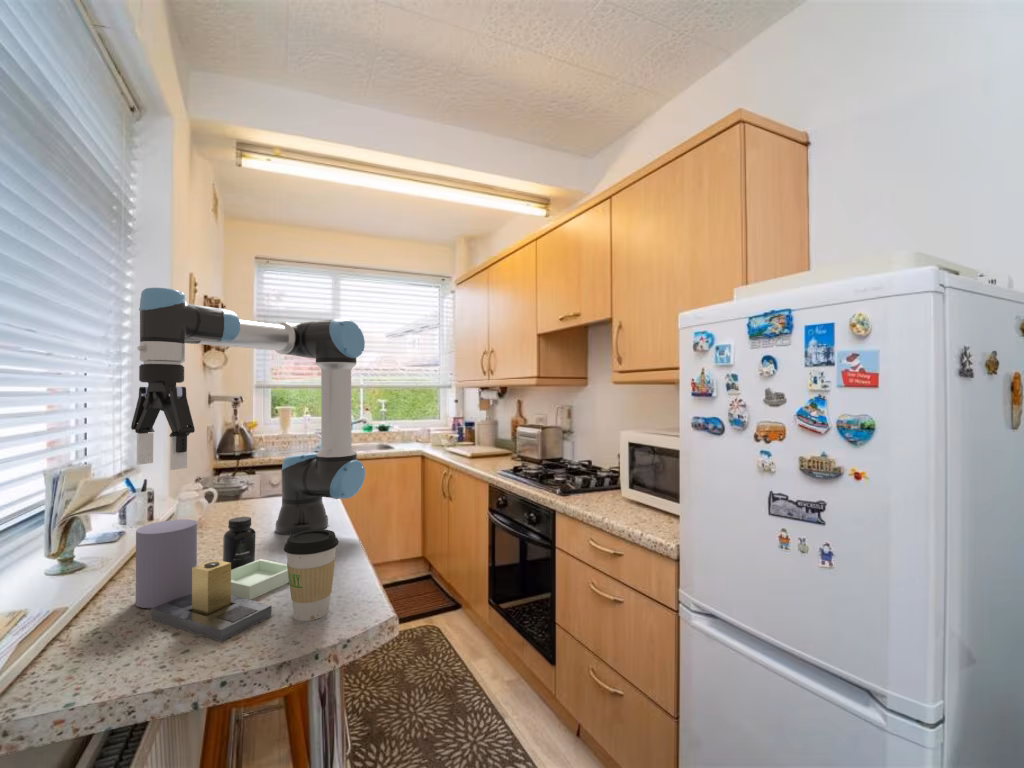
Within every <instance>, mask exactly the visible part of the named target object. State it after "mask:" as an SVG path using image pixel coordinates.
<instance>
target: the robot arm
mask: <svg viewBox="0 0 1024 768" xmlns="http://www.w3.org/2000/svg"><path fill="white" fill-rule="evenodd" d="M139 301H140V302H139V308H138V311H139V345H138V346H137V351H139V361H140V362H142V363H141V364H140V365H139V367H138V368H139V369H138V373H139V374H138V381H139V382H141V383H147V384H148V385H147V386H139V388H138V398H137V402H136V406H135V411H134V412H133V413H134V414H133V418H132V421H131V426H130V428H131V430H132V431H133V430H134V432H135V434H136V465H145V464H147V465H148V464H153V463H154V433H155V430H154V428H153V427H154V425H155V424H156V423H155V422H156V421H157V418H158V416H159V414H160V411H162V412H163V413H164V416H165V418H166V421H167V423H168V425H169V428H170V430H171V432H170V434H169V438H170V439H169V441H170V442H169V443H170V444H169V445H170V446H169V447H170V448H169V449H170V450H169V451H170V452H169V470H171V471H173V470H180V469H187V468H188V437H189V436H190V434H193V433H195V425H194V420H193V418H192V414H191V410H190V405H189V403H188V398H187V388H186V386H177V384H181V383H184V382H185V366H184V365H183V364H182V363H185V360H186V358H185V356H186V355H185V353H186V351H185V350H186V349H185V348H186V344H189V345H191V344H194V345H206V346H208V345H209V346H217V347H218V346H219V347H231V348H242V349H255V350H267V351H275V352H276V353H277V354H279V355H287V356H295V357H302V358H307V359H315V364H316V365H317V367H318V368H319V369H320V372H321V373H320V374H321V376H320V378H321V379H320V380H321V381H320V384H321V385H320V386H321V387H320V390H321V391H320V394H321V395H320V396H321V397H320V398H321V401H320V402H321V403H320V404H321V405H320V406H321V407H320V408H321V409H320V410H321V415H320V416H321V418H320V419H321V425H320V426H321V427H320V428H321V429H320V431H321V434H320V435H321V446H320V447H321V448H320V449H319V450H318V452H309V453H302V454H296V455H290V456H289V455H288V456H286V457H284V458H283V460H282V464H281V465H282V467H281V472H280V473H281V507H280V510H279V513H278V517H277V520H276V522H275V532H276V533H278V534H281V535H293V534H295V533H299V532H303V531H308V530H324V529H325V528H327V527H328V526H329V516H328V515H327V512H326V509H325V505H324V503H323V498H328V499H329V498H331V499H333V500H341V499H342V500H347V499H350V498H352V497H354V496H355V495H356V494H358V492H359V491H360V489H362V486H363V485H364V481H365V477H366V470H365V469H366V468H365V466H364V465H363V462H361V461H360V460H358V459H357V457H358V455H357V451H356V450H355V449H354V448H353V447H352V369H353V368H354V367H356V365H357V358H358V357H359V356H361V355H362V354H363V352H364V350H365V346H366V345H365V344H366V341H365V336H364V333H363V332H362V329H361V328H360V327H359V326H358V324H357V323H356V322H354V321H352V320H350V319H345V318H343V319H341V318H334V319H325V320H313V321H303V322H286V321H285V322H283V321H282V322H279V323H277V324H273V323H266V322H258V321H252V320H244V319H240V318H239V316H238V315H237V313H235V311H232V310H229V309H224V308H222V307H212V306H205V305H199V304H193V303H190V302H187V299H186V295H185V293H184V292H183V291H180V290H177V289H173V288H166V287H147V288H145V289H143V290H142V291H141V293H140V299H139Z"/></svg>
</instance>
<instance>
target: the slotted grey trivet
mask: <svg viewBox="0 0 1024 768" xmlns="http://www.w3.org/2000/svg"><path fill="white" fill-rule="evenodd" d="M272 610H273V607H272V604H268V603H264V602H260V601H256V600H253V599H251V600H249V599H245V598H241V597H237V596H233V595H231V606H229V607H227V608H224V609H222V610H220V611H218V612H216V613H213V614H211V615H209V616H203V615H200V614H196V613H193V612H192V593H189V594H187V595H184V596H182V597H179V598H177V599H174V600H172V601H169V602H166V603H164V604H161V605H159V606H156V607H154V608H151V609H150V620H152V621H156V622H158V623H162V624H165V625H168V626H171V627H175V628H177V629H180V630H184V631H187V632H189V633H193V634H196V635H200V636H203V637H206V638H209V639H213V640H216V641H219V642H224V641H225V640H227V639H229V638H231V637H233V636H235V635H237V634H239V633H241V632H243V631H245V630H247V629H249V628H251V627H252V626H255V625H256V624H258V623H259V624H260V622H262V621H264V620H267V619H268V618H270V617H272V614H273V612H272Z"/></svg>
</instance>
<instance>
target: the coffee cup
mask: <svg viewBox="0 0 1024 768" xmlns="http://www.w3.org/2000/svg"><path fill="white" fill-rule="evenodd" d="M286 540H287V541H286V543H285V544H284V546H283V551H284V553H286V559H287V563H286V564H287V570H288V578H289V582H288V583H289V584H288V585H289V592H290V593H289V594H290V599H291V601H292V603H291V604H292V611H293V618H294V619H295V620H297V621H300V622H311V621H316V620H319V619H322V618H323V617H324V615H325V616H326V615H327V614H328V613H329V610H330V609H329V608H330V600H331V595H332V589H333V582H334V576H335V575H334V574H335V573H334V572H335V568H336V567H335V566H336V565H335V564H336V551H337V546H338V545H339V540H338V537H337V536H336V533H335V531H333V530H330V529H321V530H308V531H303V532H299V533H295V534H290V536H288V537H287V539H286ZM318 618H319V619H318ZM315 619H316V620H315Z"/></svg>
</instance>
